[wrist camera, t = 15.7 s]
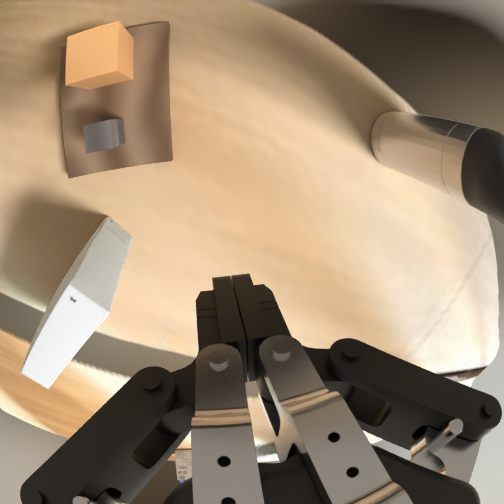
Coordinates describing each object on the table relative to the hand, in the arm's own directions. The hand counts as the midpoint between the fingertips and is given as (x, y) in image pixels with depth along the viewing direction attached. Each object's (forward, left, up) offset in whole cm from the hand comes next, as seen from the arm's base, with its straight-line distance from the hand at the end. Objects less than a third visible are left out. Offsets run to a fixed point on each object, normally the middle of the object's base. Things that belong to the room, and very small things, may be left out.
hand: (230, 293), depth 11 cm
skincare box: (+20, +13, -25) cm, 35 cm away
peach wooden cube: (+11, -16, -24) cm, 30 cm away
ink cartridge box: (+17, +88, -25) cm, 93 cm away
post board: (+11, -11, -25) cm, 29 cm away
